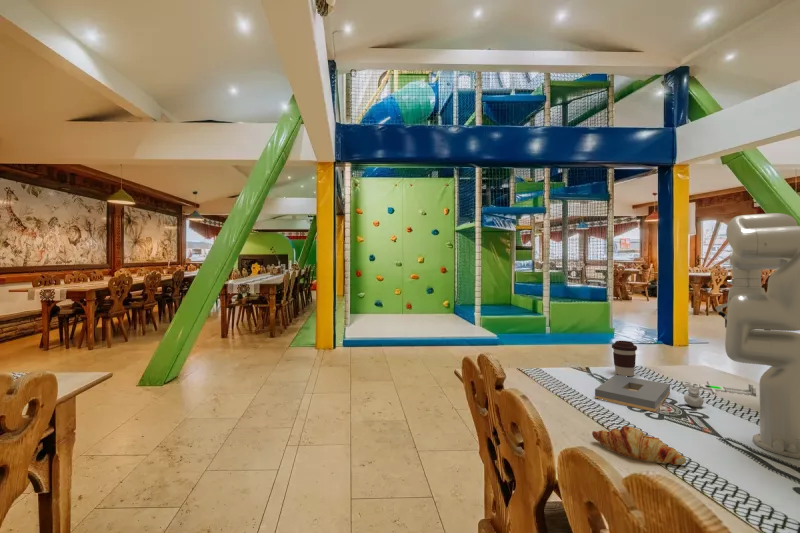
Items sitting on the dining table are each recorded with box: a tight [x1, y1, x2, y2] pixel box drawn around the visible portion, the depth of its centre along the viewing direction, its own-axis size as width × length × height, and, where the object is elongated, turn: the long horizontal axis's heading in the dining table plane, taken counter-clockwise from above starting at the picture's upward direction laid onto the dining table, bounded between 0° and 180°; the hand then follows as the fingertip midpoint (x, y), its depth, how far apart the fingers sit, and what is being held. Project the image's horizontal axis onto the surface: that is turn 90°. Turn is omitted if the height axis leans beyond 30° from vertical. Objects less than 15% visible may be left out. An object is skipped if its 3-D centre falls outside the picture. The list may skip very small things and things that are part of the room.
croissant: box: [591, 425, 687, 466], centre depth 99 cm, size 21×10×8 cm, turn 51°
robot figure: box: [681, 381, 757, 397], centre depth 149 cm, size 16×3×22 cm
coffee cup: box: [611, 340, 638, 377], centre depth 170 cm, size 10×10×15 cm
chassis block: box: [594, 374, 671, 413], centre depth 142 cm, size 26×19×4 cm
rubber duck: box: [683, 384, 705, 408], centre depth 132 cm, size 5×7×8 cm
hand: (747, 331), depth 132 cm, fingers open, 9 cm apart
